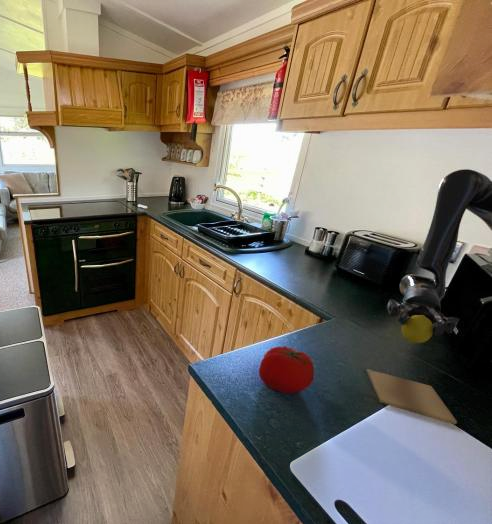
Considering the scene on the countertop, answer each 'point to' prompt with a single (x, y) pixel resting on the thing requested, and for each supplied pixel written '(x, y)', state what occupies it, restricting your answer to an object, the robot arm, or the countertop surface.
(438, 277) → the robot arm
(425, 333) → the lemon
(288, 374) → the tomato
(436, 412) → the board
